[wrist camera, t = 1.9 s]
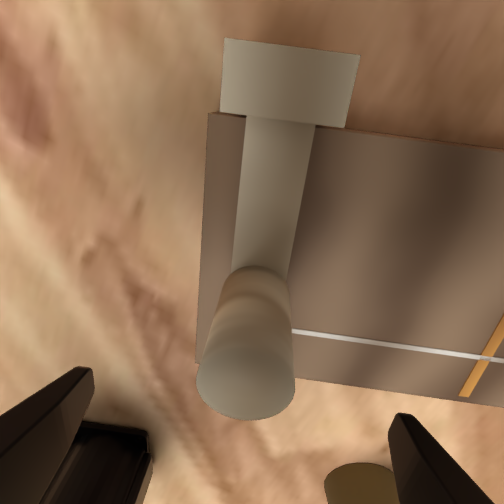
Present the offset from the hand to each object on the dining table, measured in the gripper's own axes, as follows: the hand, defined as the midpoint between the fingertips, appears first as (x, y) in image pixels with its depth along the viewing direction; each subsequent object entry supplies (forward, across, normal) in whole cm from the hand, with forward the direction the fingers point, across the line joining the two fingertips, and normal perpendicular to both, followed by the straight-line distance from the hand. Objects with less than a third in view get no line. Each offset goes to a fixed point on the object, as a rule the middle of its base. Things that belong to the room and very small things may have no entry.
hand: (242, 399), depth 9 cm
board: (+10, -7, 0) cm, 12 cm away
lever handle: (+9, 0, -3) cm, 10 cm away
